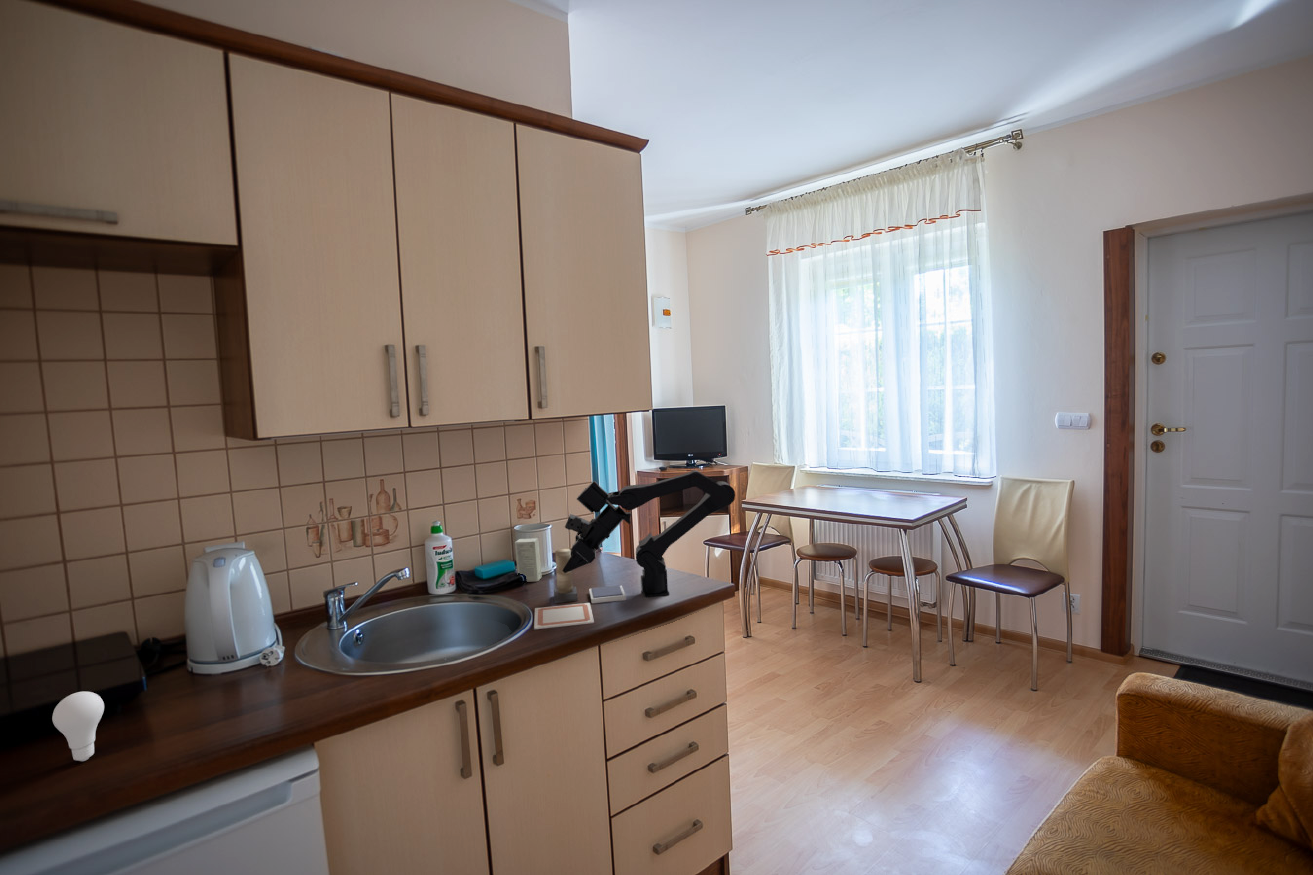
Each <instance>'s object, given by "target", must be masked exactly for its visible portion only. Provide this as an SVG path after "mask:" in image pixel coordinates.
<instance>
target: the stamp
mask: <svg viewBox="0 0 1313 875" xmlns="http://www.w3.org/2000/svg"><path fill="white" fill-rule="evenodd" d="M571 551H572V549H569V548H560V549H557V550H555V566H556V570H555V571H556V581H557V582H556V584H557V585H556V586H557V588H553V595H554V596H553V597H554V598H553V599H554V601H553V602H554V604H560V603H570V602H578V601H579V600H578V592H577V587H576V586H573V572H572V571H573V570H571V571H569V572H567V573H564V572H563V571H562V570H563V568H564V567H565V565H566V563H567V562H568V560H569V559H570V557H571Z"/></svg>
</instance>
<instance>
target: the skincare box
mask: <svg viewBox="0 0 1313 875" xmlns="http://www.w3.org/2000/svg"><path fill="white" fill-rule="evenodd" d="M514 546H515V547H514V548H515V559H516V560H515V562H516V570H517V574H518V573H520V574H524V575H525V576H526V579H527V582H528V583H529V582H530V583H531V582H539V581H540V579H542V576H543V575H542V565H541V553H540V552H541V551H540V542H539V537H533V538H532V537H531V538H518V539H517V540H516V541H515V542H514ZM527 582H526V583H527Z"/></svg>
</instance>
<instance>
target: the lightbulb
mask: <svg viewBox="0 0 1313 875" xmlns="http://www.w3.org/2000/svg"><path fill="white" fill-rule="evenodd" d="M104 711H105V703H104V701H103V699H102V698H101V696H100V695H99V694H97V693H94V692H92V691H78V692H75V693H72V694H70V695H67V696H65V698H63V699H61V700H60V701H59V703H58V704H57V705H56V706H55V708H54V710H53V713H52V718H51V719H52V723H53V725H54V727H55V728H56V729H57V730H58V731H59V732H60V733H61V734H63V735H64V737H65V738H66V741H67V743H68V748H69V749H70V750H71V755H72V758H73V760H74V761H79V762H85V761H87V760H89V759H90V757H92V756H93V755H94V754H95V741H96V731H97V729H98V728H97V727H98V724H99V723H100V721H101V719H102V716H103V714H104Z"/></svg>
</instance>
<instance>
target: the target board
mask: <svg viewBox="0 0 1313 875" xmlns="http://www.w3.org/2000/svg"><path fill="white" fill-rule="evenodd" d="M591 606H592V605H591V602H585V603H575V604H565V605H554V606H545V607H535V608H534V622H533V624H534V625H533V630H540V629H541V630H542V629H552V628H560V627H568V626H569V627H570V626H580V625H587V624H594V623H595V621H594V620H595V619H594V616H593V611H592V607H591Z"/></svg>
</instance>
